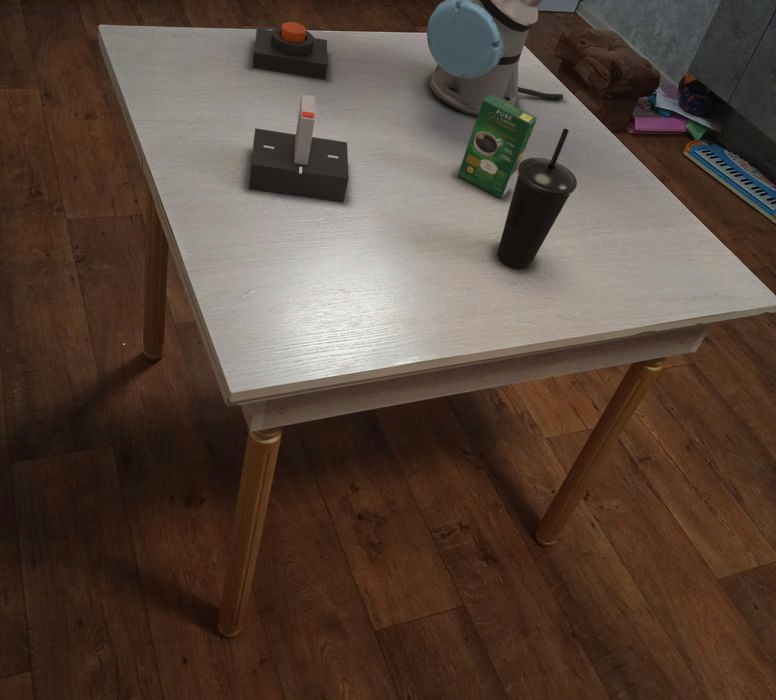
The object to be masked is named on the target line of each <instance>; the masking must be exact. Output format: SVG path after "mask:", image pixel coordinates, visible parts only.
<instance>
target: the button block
mask: <svg viewBox="0 0 776 700" xmlns="http://www.w3.org/2000/svg"><path fill="white" fill-rule="evenodd" d="M281 28H282V25H278V26H276V27H274V28H273V29H266V28H261V27H256V32H255V39H254V47H253V55H252V66H251V67H252V68H253V69H259V70H264V71H270V72H275V73H282V74H288V75H295V76H301V77H305V78H313V79H318V80H326V76H327V71H328V64H329V63H328V39H323V38H319V37H315V36H314V35H313V34H312V33H311V32H310V31H308V30H306V35H305V41H304V42H297V43H296V42H290V41H287V40H285V39H283V38H282V37H281Z"/></svg>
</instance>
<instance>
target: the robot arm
mask: <svg viewBox="0 0 776 700" xmlns="http://www.w3.org/2000/svg"><path fill="white" fill-rule="evenodd" d="M306 1H307V2H308V1H309V0H306ZM542 1H543V0H443V1H442V2H440V3H438V5H437V6H436V7H435V9H434V10H433V12H432V14H431V15H430V17H429V20H428V23H427V27H426V37H427V38H426V40H427V46H428V49H429V51H430V54H431V56H432V58H433V59H434V61H435V62H436V63H437V64H436V66H435V68H434V70H433V72H432V76H431V79H430V89H431V91H432V93H433V94H434V95H435V96H436V97H437V98H438V100H440V101H441V102H442V103H444V104H445V105H447V106H449V107H451V108H452V109H455V110H457V111H459V112H462V113H465V114H468V115H473V116H478V114H479V111H480V108H481V105H482V102H483V99H485V98H486V97H487V96H489V95H490V94H492V95H494V96H496V97H498V98H500V99H502V100H504V101H506V102H507V103H509V104H511V105H513V106H515V107H516V103H517V100H518V98H519V97H518V95H519V93H520V94H525V95H528V96H533V97H537V98H541V99H548V100H563V99H564V94H562V93H546V92H541V91H538V90H534V89H530V88H526V87H525V88H524V87H520V86H519V63H520V58H521V55H522V52H523V50H524V47H525V44H526V41H527V38H528V35H529V31H530V29H531V28H532V26H534V25H535V24H536V23H537V21H538V19H539V4H540V3H541V2H542Z"/></svg>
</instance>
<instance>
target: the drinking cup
mask: <svg viewBox="0 0 776 700" xmlns="http://www.w3.org/2000/svg"><path fill="white" fill-rule="evenodd" d="M569 133H570V130H569V128H568V129H567V128H563V130H562V132H561V135H560V136H559V139H558V142H557V144H556V147H555V149H554V152H553V154H552V157H551V159H548V158H546V157H545V158H544V157H537V156H535V157H528V158H525V159H523V160H522V161H520V163H519V165H518V168H517V178H516V182H515V185H514V190H513V193H512V197H511V201H510V204H509V208H508V211H507V215H506V219H505V223H504V226H503V230H502V234H501V238H500V241H499V245H498V248H497V252H496V256H497V258H498V260H499V261H500V262H501V263H502V264H503V265H505V266H506V267H508V268H510V269H514V270H526V269H528V268H530V267H531V265H532V263H533V261H534V259H535V257H536V256H537V254H538V252H539V250H540V249H541V247H542V245H543V243H544V242H545V240H546V238H547V236H548V235H549V232H550V231H551V229H552V227H553V226H554V224H555V222H556V220H557V218H558V217H559V215H560V213H561V212H562V209H563V208H564V206H565V204H566V202H567V200H568V199H569V197H570V195H571V194H572V193H574V192H575V190H576V188H577V187H578V180H577V177H576V175H575V174H574V173H573V172H572V171H571V169H569V168H568V167H566V166H565V165H563V164H561V163H560V162H558V158H559V156H560V154H561V151H562V149H563V146H564V145H565V142H566V139H567V137H568V134H569Z"/></svg>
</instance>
